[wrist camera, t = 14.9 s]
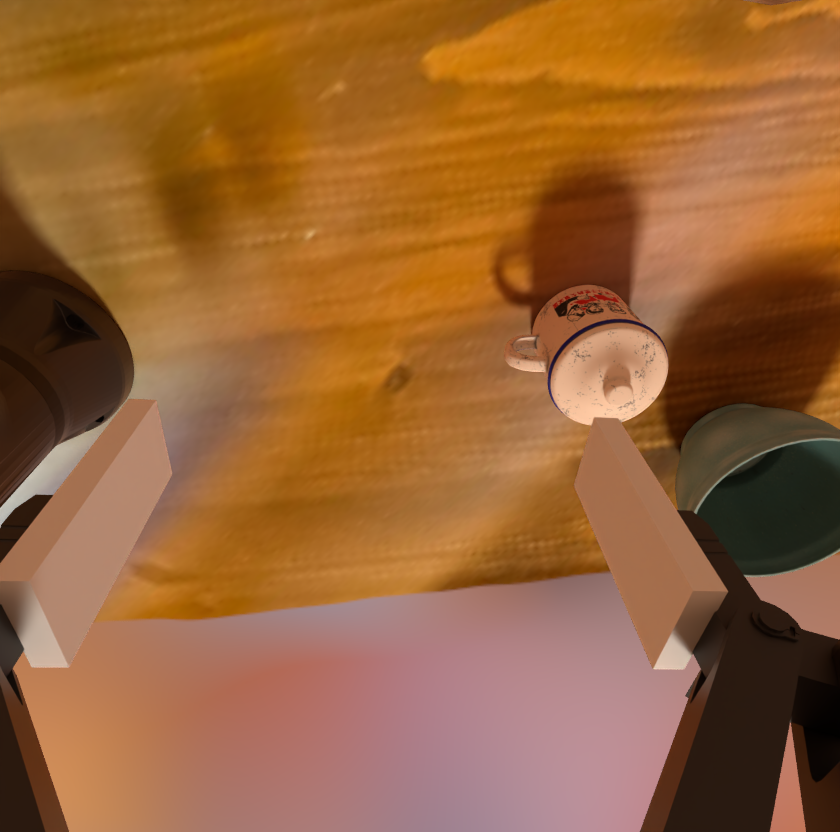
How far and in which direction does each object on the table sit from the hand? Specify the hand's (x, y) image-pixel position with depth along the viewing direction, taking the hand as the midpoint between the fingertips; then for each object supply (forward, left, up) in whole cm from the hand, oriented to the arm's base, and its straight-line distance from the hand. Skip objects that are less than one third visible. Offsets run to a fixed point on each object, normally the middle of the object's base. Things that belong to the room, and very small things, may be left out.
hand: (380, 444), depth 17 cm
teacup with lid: (+16, -8, -32) cm, 36 cm away
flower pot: (+36, -18, -32) cm, 51 cm away
